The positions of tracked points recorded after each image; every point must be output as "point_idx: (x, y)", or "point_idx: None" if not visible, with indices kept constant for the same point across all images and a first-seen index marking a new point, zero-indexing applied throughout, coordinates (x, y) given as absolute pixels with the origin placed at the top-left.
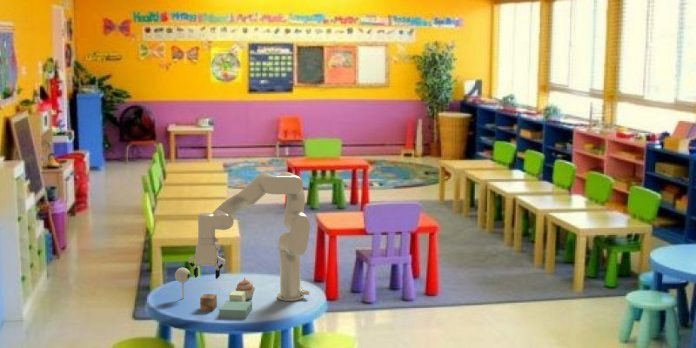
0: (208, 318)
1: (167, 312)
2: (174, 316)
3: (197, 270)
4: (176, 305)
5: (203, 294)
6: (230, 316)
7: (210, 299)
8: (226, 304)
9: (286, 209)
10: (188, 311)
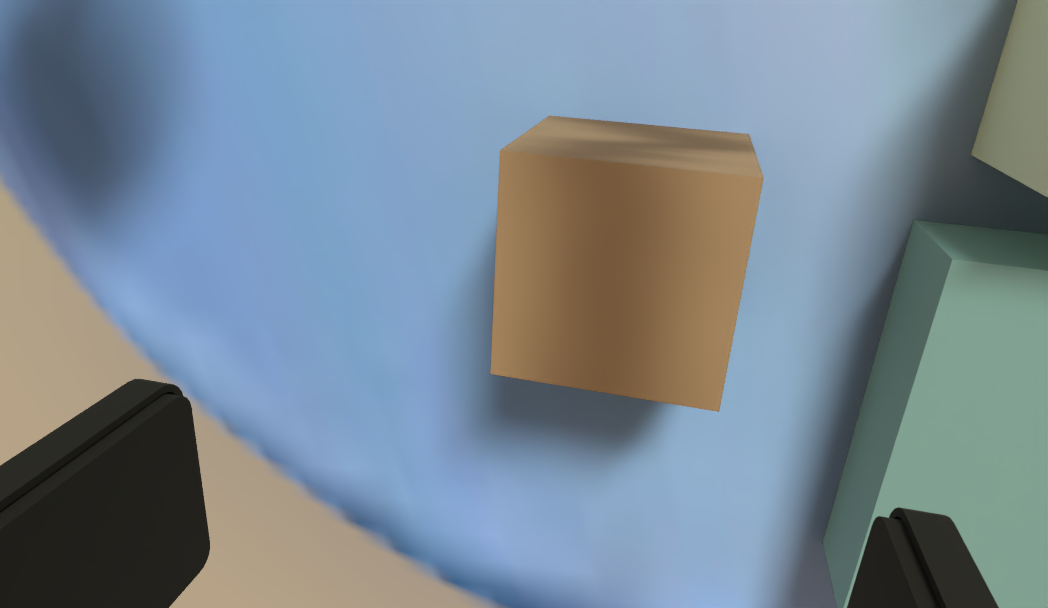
0: (688, 567)
1: (193, 352)
2: (310, 475)
3: (38, 592)
4: (180, 94)
5: (501, 185)
6: None
7: (671, 392)
8: (953, 437)
9: None
10: (400, 328)
